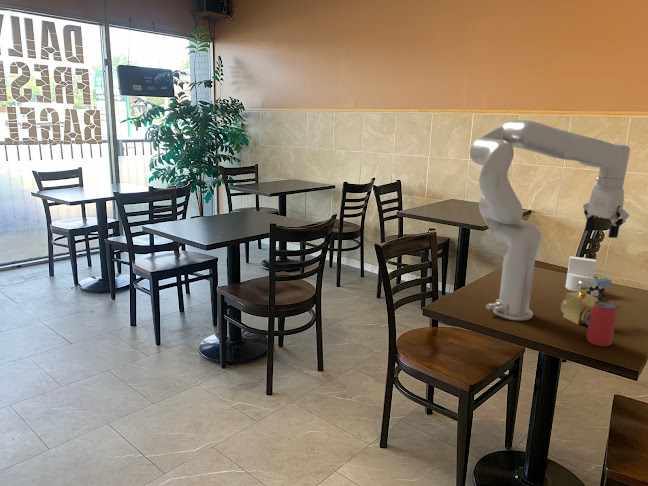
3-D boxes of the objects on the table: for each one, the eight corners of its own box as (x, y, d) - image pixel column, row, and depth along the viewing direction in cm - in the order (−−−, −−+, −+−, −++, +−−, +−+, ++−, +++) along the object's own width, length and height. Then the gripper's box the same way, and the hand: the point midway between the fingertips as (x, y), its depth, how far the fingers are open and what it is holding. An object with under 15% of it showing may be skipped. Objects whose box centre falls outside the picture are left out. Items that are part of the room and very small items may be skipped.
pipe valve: (600, 325, 162) (606, 292, 159) (584, 328, 160) (590, 294, 157) (572, 311, 173) (577, 280, 170) (557, 313, 171) (561, 282, 168)
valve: (583, 291, 194) (584, 301, 184) (586, 274, 193) (587, 283, 182) (602, 294, 192) (604, 304, 181) (605, 277, 190) (607, 286, 179)
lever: (583, 289, 161) (584, 283, 161) (574, 285, 165) (575, 280, 164) (612, 286, 165) (613, 280, 164) (603, 282, 168) (604, 277, 168)
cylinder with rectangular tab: (564, 289, 195) (568, 259, 192) (566, 283, 203) (570, 254, 200) (590, 294, 191) (595, 263, 188) (591, 287, 198) (596, 257, 195)
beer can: (584, 336, 154) (590, 299, 151) (608, 339, 152) (614, 302, 149) (588, 345, 148) (594, 307, 145) (613, 348, 146) (620, 310, 143)
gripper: (580, 179, 172) (571, 228, 177) (624, 186, 157) (613, 240, 161) (597, 179, 175) (588, 228, 179) (642, 186, 159) (631, 239, 163)
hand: (600, 233), depth 170 cm, fingers open, 9 cm apart
